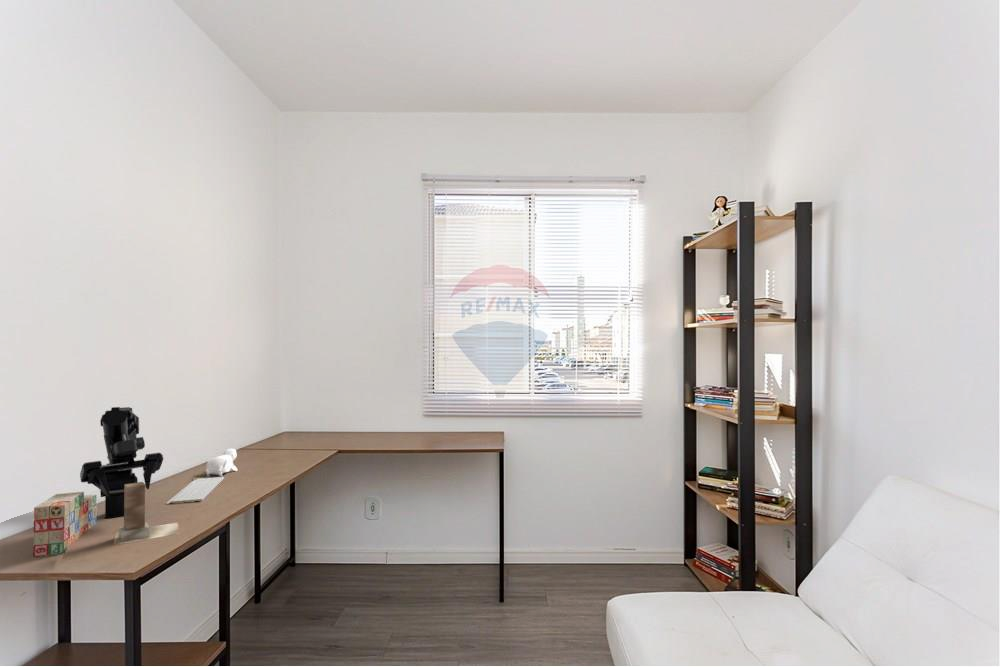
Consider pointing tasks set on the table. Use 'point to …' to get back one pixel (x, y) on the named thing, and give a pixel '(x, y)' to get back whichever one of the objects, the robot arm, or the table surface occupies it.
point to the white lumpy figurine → (222, 463)
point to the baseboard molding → (196, 490)
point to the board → (154, 532)
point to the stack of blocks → (62, 521)
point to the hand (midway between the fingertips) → (128, 492)
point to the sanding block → (134, 513)
